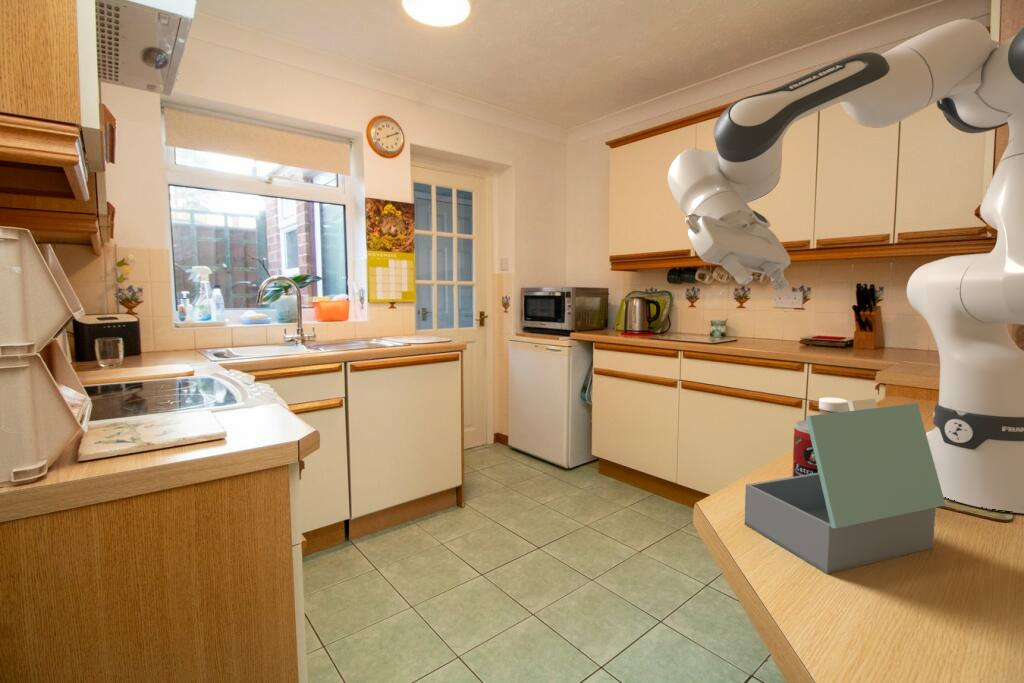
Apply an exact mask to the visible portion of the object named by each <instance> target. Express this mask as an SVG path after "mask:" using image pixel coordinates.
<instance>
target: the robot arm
mask: <svg viewBox="0 0 1024 683" xmlns="http://www.w3.org/2000/svg"><path fill="white" fill-rule="evenodd" d="M935 103H936V106H937V108H938V109H939V110H940V111H941V112H942V113H943V116H944V117H945V119H946V121H947V122H948V123H949V124H950V125H951V126H952V127H953V128H955V129H956V130H957V131H958V130H959V132H963V133H966V134H980V133H987V132H990V131H993V130H996V129H999V128H1002V127H1004V126H1007V125H1008V131H1009V135H1008V141H1007V142H1008V144H1007V146H1006V148H1005V150H1004V152H1003V153H1002V156H1001V158H1000V160H999V162H998V164H997V166H996V169H995V171H994V173H993V176H992V178H991V181H990V184H989V185H988V188H987V191H986V193H985V195H984V197H983V200H982V202H981V204H980V206H979V214H980V216H981V218H982V220H983V221H984V222H985V223H986V224H987V225H988V226H989V227H991V228H993V229H994V230H996V231H997V237H996V243H995V246H994V248H993V249H992V250H991V251H990V252H986V253H974V254H973V253H972V254H964V255H953V256H948V257H944V258H941V259H938V260H933V261H931V262H928V263H925V264H922V265H920V266H919V267H918V268H917V269H916V270H915V271H914V272H912V274H911V275H910V276H909V279H908V282H907V284H906V297H907V299H908V302H909V304H910V306H911V307H912V308H913V309H914V310H915V311H917V313H918V314H920V315H921V317H923V318H924V320H925V321H926V323H927V324H928V326H929V328H930V331H931V333H932V336H933V338H934V340H935V344H936V347H937V351H938V356H939V390H938V402H937V403H935V404H934V409H933V412H932V413H933V414H932V416H933V420H932V421H933V425H934V428H933V429H931V430H929V431H927V432H926V436H927V439H928V443H929V447H930V450H931V454H932V457H933V461H934V465H935V468H936V472H937V475H938V479H939V483H940V486H941V490H942V493H943V497H944V498H945V497H946V498H945V499H948V498H949V500H951V501H954V500H955V501H954V502H958V503H962V504H965V505H968V506H973V507H977V508H981V507H983V508H982V509H986V508H987V510H992V509H996V510H995V511H998V510H1012V511H1013V512H1012V513H1017V514H1024V350H1023V349H1021V348H1020V347H1019V346H1018V345H1017V343H1015V341H1014V340H1013V338H1012V336H1011V334H1010V330H1009V328H1008V324H1010V325H1011V324H1012V325H1024V27H1022V28H1021V29H1020V30H1019V32H1017V33H1016V34H1014V35H1013V36H1011V37H1010V38H1009V39H1007V40H1005V41H1004V42H1003V43H1002V42H1001V41H996V40H994V39H992V36H991V34H990V32H989V30H988V29H987V27H986V26H985V25H984V24H982V23H981V22H979V21H977V20H975V19H971V18H963V19H962V18H960V19H955V20H952V21H950V22H949V21H948V22H946V23H944V24H941V25H938V26H937V27H933V28H931V29H929V30H927V31H924V32H922V33H920V34H918V35H916V36H913V37H912V38H909V39H907V40H906V41H904V42H902V43H900V44H898V45H896V46H895V47H893V48H891V49H889V50H887V51H886V52H884V53H880V54H879V53H877V52H870V51H865V52H861V53H855V54H852V55H850V56H847V57H845V58H842V59H839V60H837V61H834V62H832V63H830V64H827V65H825V66H823V67H821V68H818V69H816V70H813V71H812V72H810V73H808V74H805V75H803V76H800V77H799V78H796V79H794V80H791V81H789V82H787V83H784V84H782V85H780V86H778V87H775V88H772V89H770V90H767V91H763V92H760V93H759V92H758V93H757V94H756V93H755V94H752V95H748V96H745V97H743V98H740V99H738V100H736V101H734V102H733V103H731V104H730V105H729V106H728V107H727V108H726V109H724V111H722V112H721V114H720V116H719V117H718V118H717V120H716V122H715V124H714V126H713V138H714V141H715V145H716V146H715V147H716V150H704V149H699V148H695V147H691V148H688V149H685V150H683V151H681V153H679V154H678V155H677V156H676V158H675V159H673V161H672V162H671V165H669V169H668V171H667V184H668V188H669V190H670V193H671V195H672V197H673V199H674V200H675V202H676V204H677V206H678V208H679V209H680V210H681V212H683V213H684V214H685V215H686V216H685V219H684V221H685V224H686V226H688V230H687V235H688V238H689V241H690V242H691V245H692V247H693V249H694V251H695V252H696V254H697V257H699V258H700V260H702V261H703V262H704V263H710V264H714V265H720V266H721V267H722V268H723V269H724V270H725V271H726V272H728V273H729V274H730V275H732V277H733V278H734V279H735V281H736V282H737V283H738V284H739V285H748V284H749V283H750V282H752V281H753V279H754V276H753V274H752V273H753V272H754V273H759V274H763V275H764V274H765V275H766V277H769V278H770V282H769V284H770V285H771V286H772V288H773V290H775V291H780V292H782V291H784V290H786V289H787V288H788V287H789V285H790V284H789V282H788V281H787V279H786V278H785V274H784V271H785V269H787V268H788V267H789V266H790V265H791V257H790V255H789V253H788V251H787V249H786V248H785V247H784V245H783V244H782V242H781V241H780V240H779V238H778V236H777V235H776V234H775V233H774V232H773V231H772V230H771V229H770V227H771V222H770V221H769V219H767V217H765V216H763V215H762V214H760V213H759V212H757V211H756V210H753V209H752V208H751V207H750V205H748V203H750V202H753V201H756V200H758V199H760V198H763V197H764V196H767V195H768V194H770V193H771V192H772V191H773V190H774V189H775V188H776V187H777V185H778V183H779V181H780V179H781V174H782V165H783V164H782V162H783V161H782V160H783V140H784V137H785V135H786V134H787V132H788V130H789V129H790V128H791V127H792V126H793V124H795V123H796V122H798V121H800V120H803V119H805V118H806V117H809V116H812V115H813V114H816V113H818V112H820V111H823V110H826V109H827V108H829V107H832V106H834V105H836V104H837V105H838V104H840V105H841V107H842V109H843V111H844V112H845V113H846V115H847V116H849V118H851V119H852V120H853V122H855V123H857V124H859V125H861V126H863V127H866V128H870V129H881V128H886V127H888V126H893V125H896V124H897V123H900V122H902V121H903V120H906V119H907V118H910V117H911V116H913V115H915V114H917V113H919V112H921V111H923V110H924V109H926V108H928V107H929V106H931V105H933V104H935ZM751 272H752V273H751Z"/></svg>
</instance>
